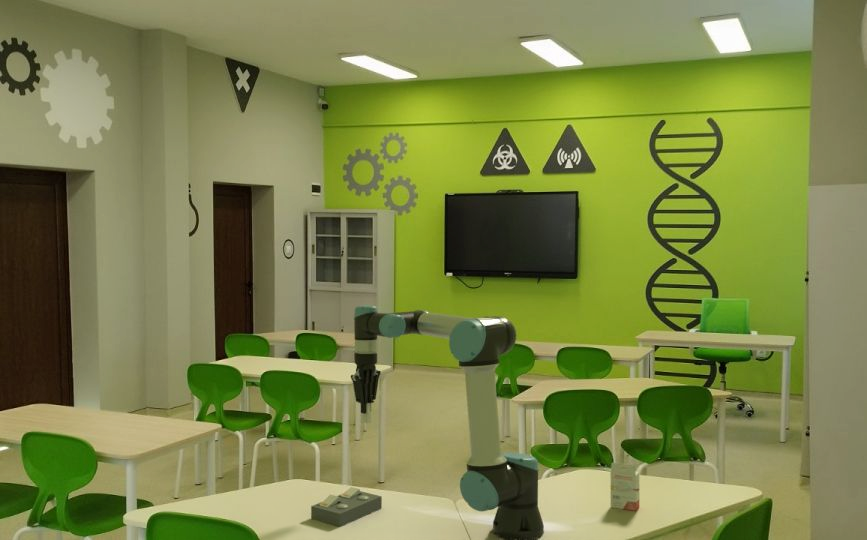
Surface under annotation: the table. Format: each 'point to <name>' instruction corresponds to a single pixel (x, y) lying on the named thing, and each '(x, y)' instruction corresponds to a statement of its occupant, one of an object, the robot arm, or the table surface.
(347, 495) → the rocker
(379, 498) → the switch panel
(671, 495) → the table surface
